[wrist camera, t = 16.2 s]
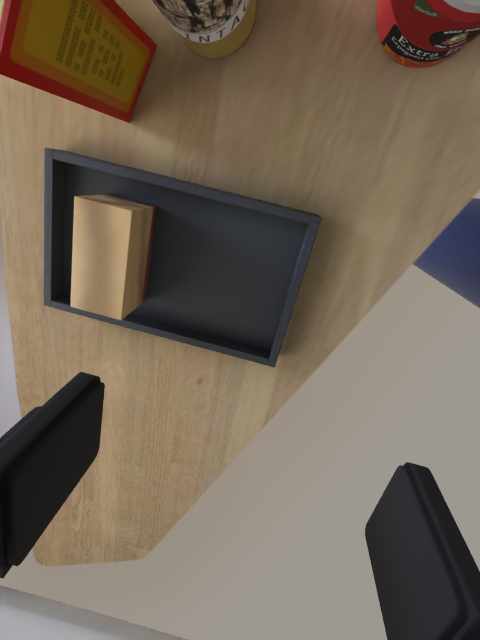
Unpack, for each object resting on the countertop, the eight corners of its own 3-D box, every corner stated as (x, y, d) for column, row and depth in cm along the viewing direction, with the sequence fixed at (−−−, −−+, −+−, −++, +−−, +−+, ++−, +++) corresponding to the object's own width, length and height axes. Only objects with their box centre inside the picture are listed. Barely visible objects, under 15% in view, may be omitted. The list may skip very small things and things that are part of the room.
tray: (319, 214, 33) (321, 217, 30) (275, 356, 39) (274, 367, 36) (61, 150, 33) (44, 147, 31) (58, 297, 40) (43, 305, 37)
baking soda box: (156, 45, 29) (23, -94, 15) (129, 122, 32) (-10, 70, 17) (55, -19, 29) (-193, -233, 14) (35, 65, 31) (-194, -41, 16)
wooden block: (158, 206, 34) (132, 210, 28) (146, 300, 38) (121, 320, 32) (109, 193, 34) (73, 196, 28) (102, 288, 38) (70, 307, 32)
